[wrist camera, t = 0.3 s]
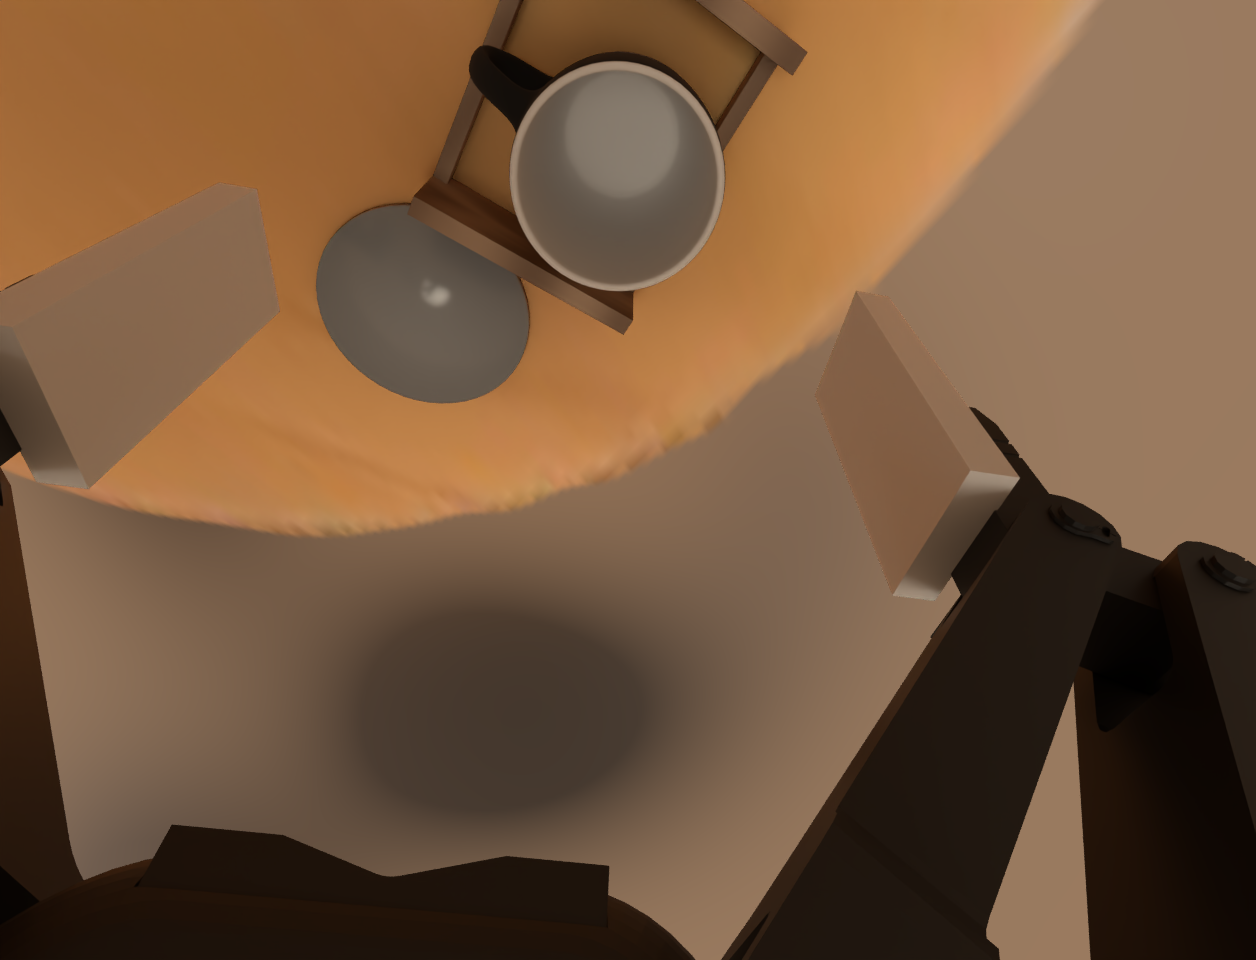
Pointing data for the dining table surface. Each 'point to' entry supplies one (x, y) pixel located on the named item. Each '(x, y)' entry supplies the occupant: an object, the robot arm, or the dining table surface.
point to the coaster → (420, 308)
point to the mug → (608, 164)
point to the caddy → (501, 231)
